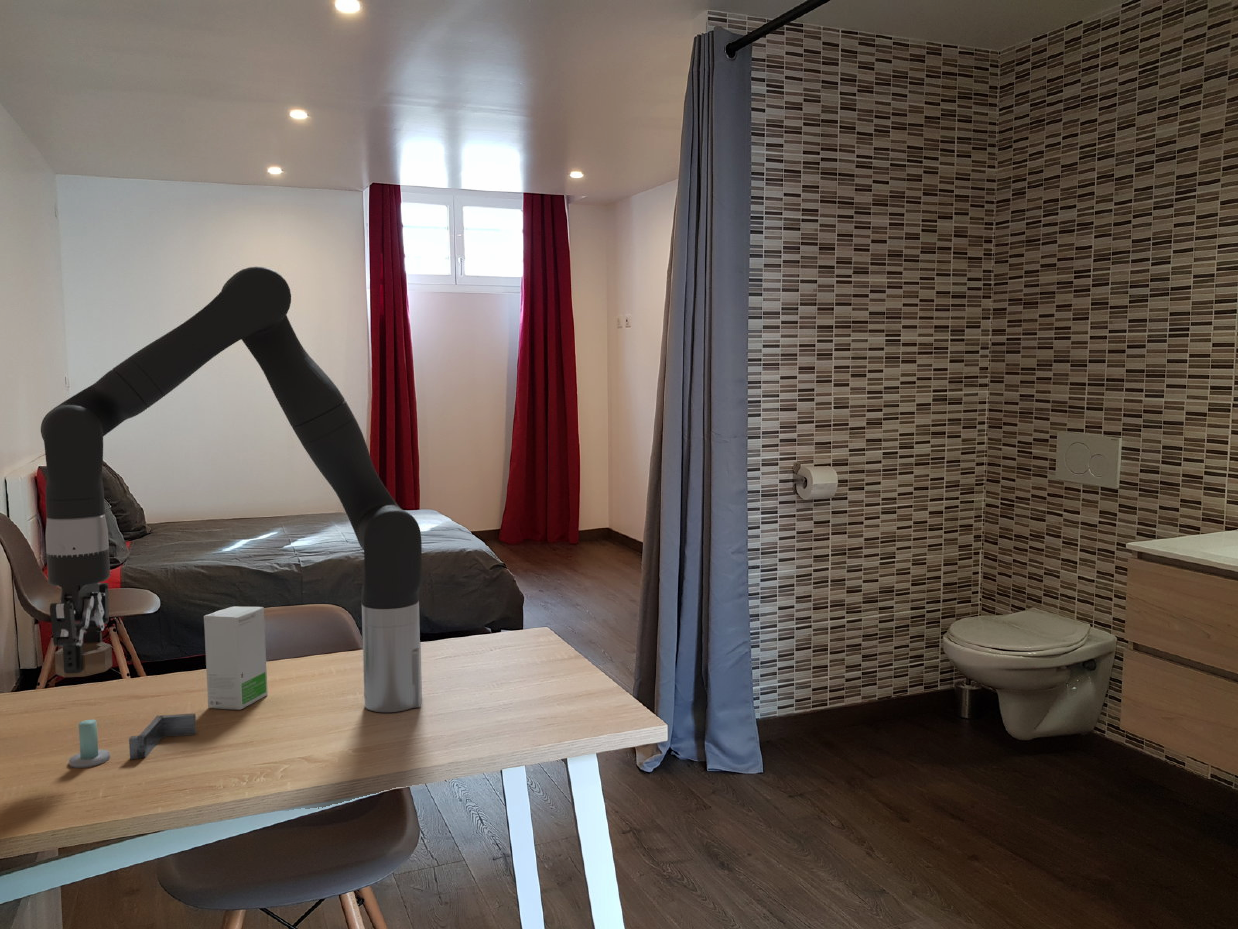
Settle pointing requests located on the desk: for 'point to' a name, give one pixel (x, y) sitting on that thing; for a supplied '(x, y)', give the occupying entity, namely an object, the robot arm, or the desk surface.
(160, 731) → the bent rail
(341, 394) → the robot arm
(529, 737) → the desk surface
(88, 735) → the teal flanged peg
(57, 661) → the walnut ring
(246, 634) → the skincare box
